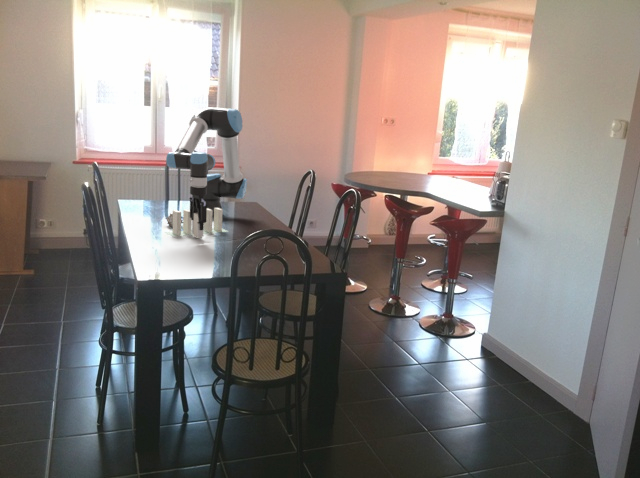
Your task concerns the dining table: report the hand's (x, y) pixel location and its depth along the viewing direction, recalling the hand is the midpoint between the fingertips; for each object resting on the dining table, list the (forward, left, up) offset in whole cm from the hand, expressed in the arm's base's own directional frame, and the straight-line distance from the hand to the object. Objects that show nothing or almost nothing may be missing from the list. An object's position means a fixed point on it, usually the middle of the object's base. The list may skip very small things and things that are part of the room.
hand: (197, 235), depth 277 cm
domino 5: (-17, -12, -1) cm, 21 cm away
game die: (-1, -28, -3) cm, 28 cm away
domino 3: (0, 0, -1) cm, 1 cm away
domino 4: (-11, -12, -1) cm, 16 cm away
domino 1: (+5, -12, -1) cm, 13 cm away
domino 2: (0, -12, -1) cm, 12 cm away
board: (-6, -12, -2) cm, 13 cm away
